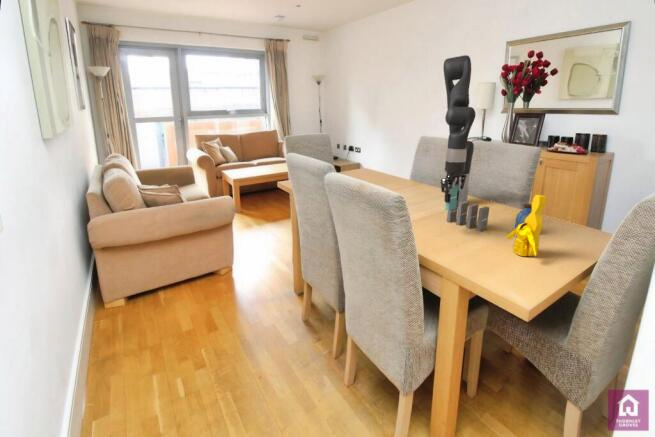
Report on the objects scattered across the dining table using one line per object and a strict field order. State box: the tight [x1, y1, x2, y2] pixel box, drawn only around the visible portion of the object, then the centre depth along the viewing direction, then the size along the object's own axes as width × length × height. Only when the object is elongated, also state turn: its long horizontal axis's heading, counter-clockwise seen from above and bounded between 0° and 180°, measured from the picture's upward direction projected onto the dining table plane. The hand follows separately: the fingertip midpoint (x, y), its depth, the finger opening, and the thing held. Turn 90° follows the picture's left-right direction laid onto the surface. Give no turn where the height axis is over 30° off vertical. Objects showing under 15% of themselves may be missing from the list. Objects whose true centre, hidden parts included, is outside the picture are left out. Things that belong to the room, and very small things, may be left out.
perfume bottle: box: [513, 203, 532, 230], centre depth 151 cm, size 6×6×12 cm
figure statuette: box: [505, 194, 547, 257], centre depth 128 cm, size 18×8×22 cm, turn 6°
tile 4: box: [476, 206, 490, 233], centre depth 153 cm, size 5×2×10 cm, turn 126°
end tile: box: [445, 184, 458, 212], centre depth 147 cm, size 5×2×10 cm, turn 127°
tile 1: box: [446, 200, 459, 223], centre depth 165 cm, size 5×2×10 cm, turn 126°
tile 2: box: [455, 201, 469, 226], centre depth 161 cm, size 5×2×10 cm, turn 126°
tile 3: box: [465, 203, 480, 230], centre depth 157 cm, size 5×2×10 cm, turn 126°
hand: (451, 200), depth 148 cm, fingers closed on end tile, 5 cm apart
